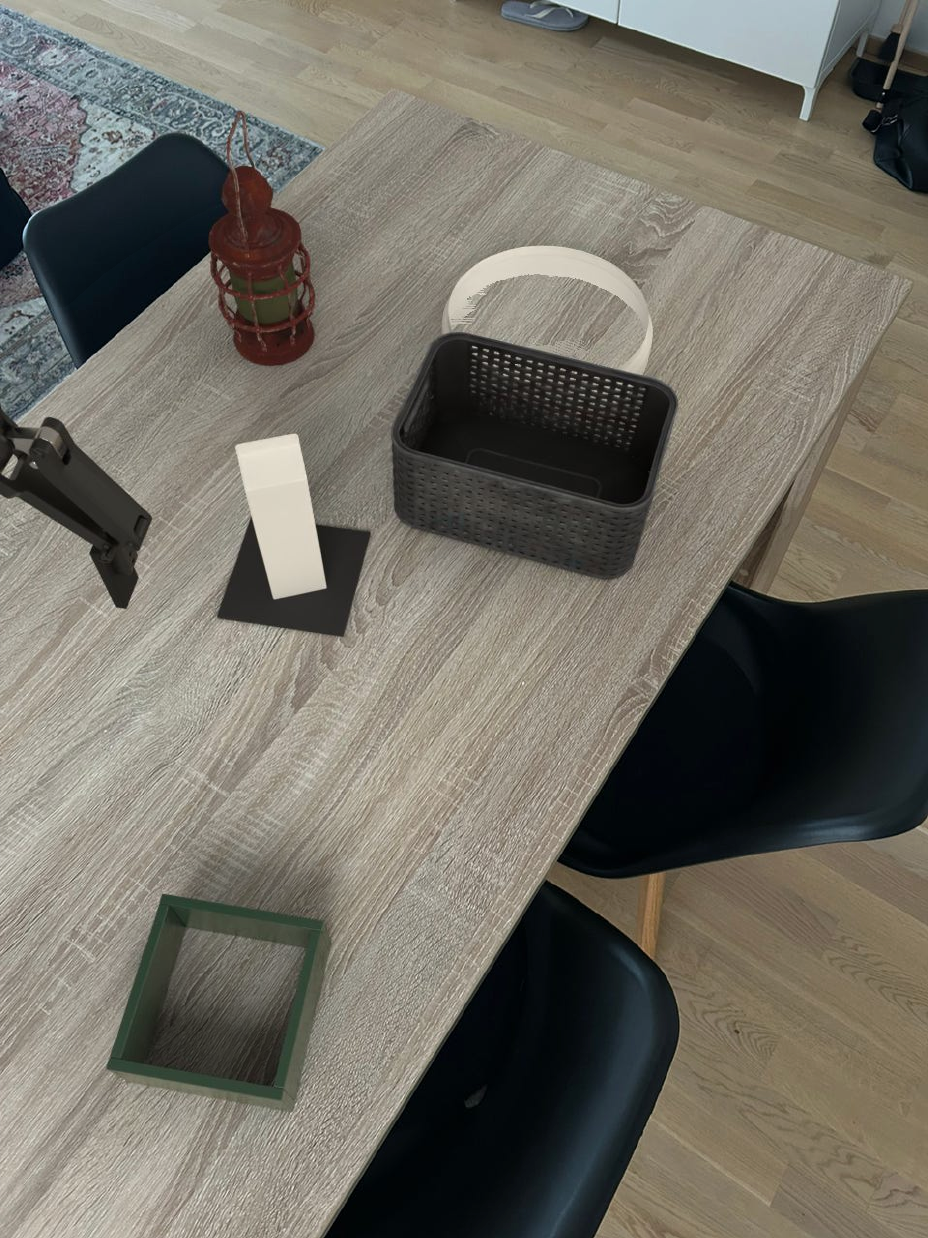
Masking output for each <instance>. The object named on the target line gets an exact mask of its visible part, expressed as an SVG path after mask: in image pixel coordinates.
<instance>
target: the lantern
mask: <svg viewBox="0 0 928 1238" xmlns="http://www.w3.org/2000/svg"><path fill="white" fill-rule="evenodd" d="M240 117H241V123H242V134H243V135H242V136H243V147H244V151H245V154H246V157H247V159H248V161H249V165H239V166H236V167H234V164H233V162H232V157H231V143H232V142H231V141H232V139H233V136H234V133H235V131H236V128H237V125H238V123H239V120H240ZM247 132H248V131H247V119H246V115H245V112H244V111H243V110H237V113H236V115H235V118H234V121H233V123H232V126H231V128H230V131H229V133H228V136H227V143H226V159H227V163H228V166H229V168H230V171H229V172H228V173H227V175H226V180H225V181H224V183H223V184H222V188H221V189H222V191H221V201H222V203H223V205H224V206H225V207H226V209H227V211H228V213H226V214H224V216H222V217H220V218H219V219H218V220H217V221H216V222H215V223H214V224H213V225H212V227H211V229H210V231H209V232H208V233H209V234H208V246H209V248H210V261H209V264H210V265H209V266H210V267H209V268H210V270H209V271H210V275H211V278H212V280H213V281H214V284H215V285H216V286H217V287H218V294H217V297H218V299H217V301H218V302H217V303H218V304H217V305H218V309H219V311H220V313H221V315H222V317H223V319H225V321H226V324H227V326H228V327H229V329H230V330H232V331H234V332H233V335H232V340H233V343H234V346H235V350H236V351H237V352H238V354H239V355H240V356H241V357H242V358H243V359H245V360H247V361H249V362H251V363H253V364H256V365H260V366H269V367H270V366H273V367H274V366H283V365H286V364H289V363H292V362H295V361H296V360H299V358H302V357H303V356H304V355H305V354H306V353H307V352H308V351H309V350H310V348H311V347H312V345H313V344H314V339H315V329H314V325H313V324H312V321H311V319H310V318H311V317H312V316H313V315H314V314H315V309H316V308H315V307H316V305H315V303H316V302H315V301H316V292H315V288H314V285H313V283H312V280H311V265H312V264H311V257H310V254H309V251H308V250H307V248H306V247H305V245H304V243H303V242H302V239H303V237H302V229H301V226H300V223H299V222H298V221H297V220H296V219H295V217H293V215H291V214H289V213H288V212H286V211H284V210H281V209H278V208H275V207H272V201H273V199H274V190H273V187H272V186H271V185H270V184H269V182H268V180H267V178H266V177H265V176H263V175H262V173H261V172H260V171H259V170H258V169H257V168H256V166H255V162H254V161H253V159H252V156H251V154H250V150H249V145H248V134H247ZM295 255H297V256H299V260H300V267H301V272H300V271H299V270H298V269H295V267H294V257H295ZM218 261H220V262H221V264H222V265H221V266H220V267H219V269H218ZM225 268H226V269H227V270H228V273H229V278H228V280H227V281H226V282H225V283H224V282H223V280H222V279H223V278H222V274H223V272H224V270H225ZM297 277H298V278H297ZM301 284H302V287H303V291H302V293H301V295H300V298H299V293H298V292H299V288H298V287H299V286H300V285H301ZM230 286H231V288H229V287H230ZM307 290H308V297H309V300H308V304H307V306H306V307H305V305H304V303H303V301H304V298H305V296H306V293H307ZM226 294H228V295H230V296H233V299H234V302H235V304H236V310H235V311H234V310H233V309H232V308H231V307H230V306H229V305H228V304H227V300H226ZM230 313H231V314H232V316H231V315H230Z"/></svg>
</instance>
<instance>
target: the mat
mask: <svg viewBox="0 0 928 1238" xmlns="http://www.w3.org/2000/svg"><path fill="white" fill-rule="evenodd" d="M315 525H316V531H317V536H318V542H319V548H320V553H321V559H322V564H323V570H324V575H325V581H326V587H327V588H326V589H321V590H317V591H312V592H307V593H302V594H298V595H293V596H288V597H284V598H279V599H273V596H272V592H271V589H270V585H269V581H268V577H267V573H266V570H265V566H264V562H263V558H262V554H261V550H260V547H259V543H258V539H257V535H256V531H255V528H254V524H253V520H252V516H251V515H250V519H249V521H248V525H247V528H246V530H245V533H244V536H243V538H242V541H241V544H240V548H239V551H238V553H237V557H236V559H235V562H234V565H233V568H232V571H231V574H230V577H229V580H228V583H227V585H226V588H225V591H224V594H223V597H222V600H221V602H220V606H219V609H218V612H217V615H216V618H217V619H220V620H226V621H234V622H240V623H247V624H253V625H261V626H266V627H267V626H268V627H275V628H281V629H287V630H295V631H301V632H307V633H314V634H322V635H329V636H333V637H342V638H343V637H344V636H345V633H346V629H347V625H348V620H349V617H350V615H351V614H350V613H351V609H352V605H353V602H354V598H355V594H356V591H357V587H358V583H359V579H360V576H361V575H360V574H361V572H362V568H363V565H364V560H365V556H366V553H367V549H368V546H369V545H368V544H369V542H370V538H371V531H368V530H367V531H366V530H360V529H352V528H345V527H339V526H331V525H325V524H317V523H315Z"/></svg>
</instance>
